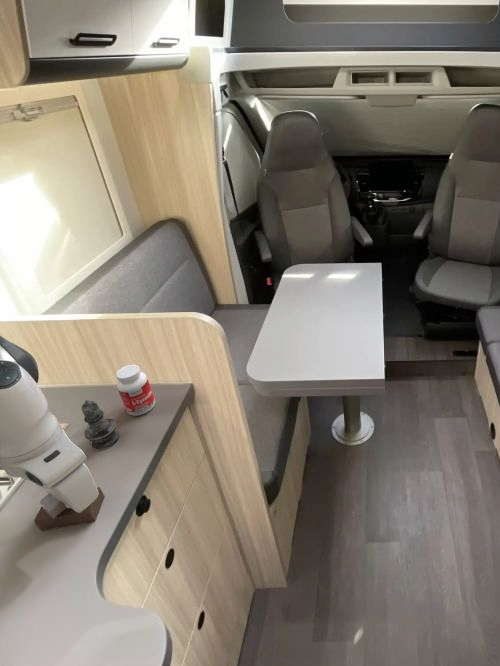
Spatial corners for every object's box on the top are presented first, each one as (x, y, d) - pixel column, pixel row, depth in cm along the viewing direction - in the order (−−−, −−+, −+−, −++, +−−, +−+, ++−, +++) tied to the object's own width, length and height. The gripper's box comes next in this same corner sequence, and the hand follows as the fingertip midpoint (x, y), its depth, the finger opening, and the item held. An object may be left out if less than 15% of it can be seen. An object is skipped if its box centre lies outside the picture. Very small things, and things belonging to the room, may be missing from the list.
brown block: (40, 530, 79) (33, 521, 77) (53, 505, 83) (46, 495, 81) (95, 521, 80) (89, 511, 78) (104, 496, 84) (99, 486, 83)
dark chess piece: (104, 427, 99) (85, 388, 93) (127, 431, 98) (109, 391, 92) (83, 449, 94) (62, 408, 88) (107, 453, 93) (87, 412, 87)
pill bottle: (137, 420, 100) (122, 384, 95) (121, 410, 103) (106, 374, 98) (161, 403, 105) (148, 367, 99) (146, 394, 108) (132, 358, 102)
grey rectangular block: (53, 519, 77) (43, 504, 75) (47, 515, 78) (38, 500, 76) (86, 491, 82) (78, 476, 80) (81, 488, 82) (72, 473, 80)
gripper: (-23, 438, 74) (13, 490, 81) (50, 487, 66) (83, 540, 73) (18, 413, 79) (48, 464, 86) (90, 455, 71) (118, 508, 78)
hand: (65, 499), depth 79 cm, fingers closed
